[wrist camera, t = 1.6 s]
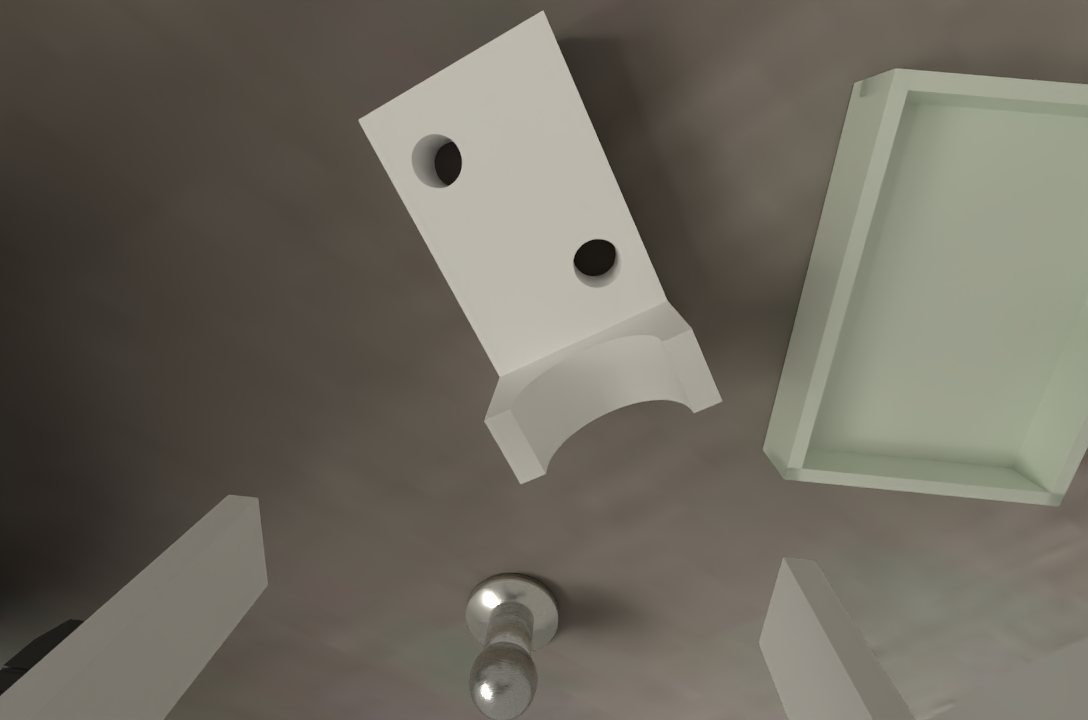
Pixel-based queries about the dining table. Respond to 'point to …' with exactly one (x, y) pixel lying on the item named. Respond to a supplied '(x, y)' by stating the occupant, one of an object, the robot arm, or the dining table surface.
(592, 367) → the bracket
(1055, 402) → the tray
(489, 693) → the metal knob
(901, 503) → the dining table surface
